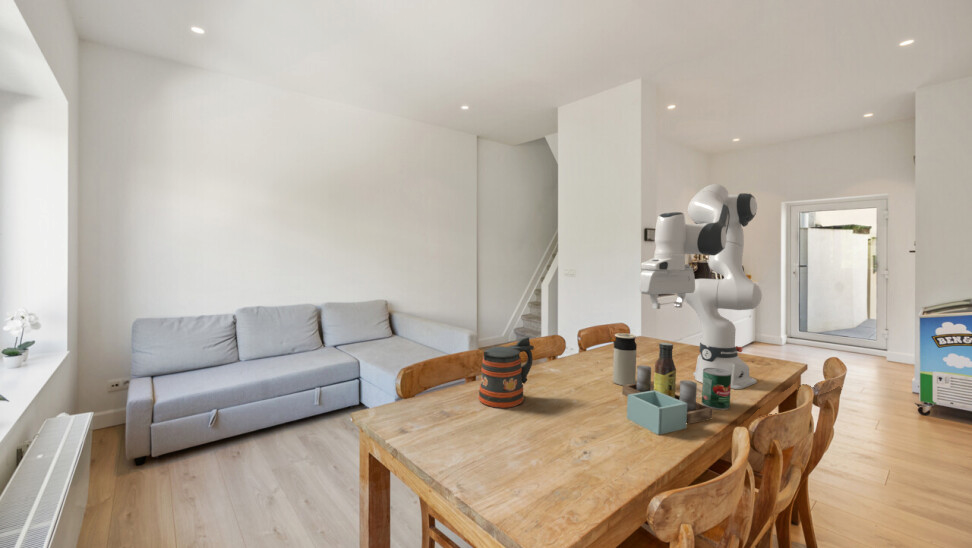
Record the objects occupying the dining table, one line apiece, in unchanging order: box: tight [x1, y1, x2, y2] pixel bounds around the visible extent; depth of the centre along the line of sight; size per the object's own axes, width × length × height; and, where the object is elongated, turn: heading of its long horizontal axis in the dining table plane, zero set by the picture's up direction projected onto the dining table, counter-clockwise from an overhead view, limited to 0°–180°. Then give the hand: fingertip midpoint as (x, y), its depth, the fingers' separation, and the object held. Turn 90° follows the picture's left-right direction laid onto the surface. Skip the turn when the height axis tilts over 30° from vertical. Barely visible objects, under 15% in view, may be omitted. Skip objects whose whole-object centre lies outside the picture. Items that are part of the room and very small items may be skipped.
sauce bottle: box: [653, 342, 677, 398], centre depth 127 cm, size 6×6×20 cm
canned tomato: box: [701, 368, 732, 411], centre depth 128 cm, size 8×8×11 cm
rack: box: [622, 364, 713, 425], centre depth 127 cm, size 10×26×10 cm, turn 24°
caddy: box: [626, 390, 687, 436], centre depth 114 cm, size 10×12×7 cm
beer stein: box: [478, 336, 535, 409], centre depth 131 cm, size 19×15×20 cm
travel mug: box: [612, 332, 638, 387], centre depth 149 cm, size 8×8×18 cm
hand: (667, 308), depth 126 cm, fingers open, 8 cm apart
